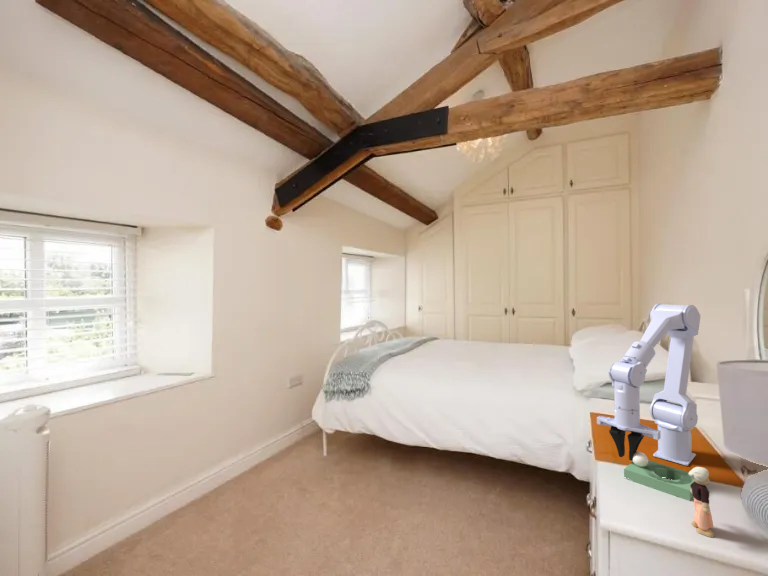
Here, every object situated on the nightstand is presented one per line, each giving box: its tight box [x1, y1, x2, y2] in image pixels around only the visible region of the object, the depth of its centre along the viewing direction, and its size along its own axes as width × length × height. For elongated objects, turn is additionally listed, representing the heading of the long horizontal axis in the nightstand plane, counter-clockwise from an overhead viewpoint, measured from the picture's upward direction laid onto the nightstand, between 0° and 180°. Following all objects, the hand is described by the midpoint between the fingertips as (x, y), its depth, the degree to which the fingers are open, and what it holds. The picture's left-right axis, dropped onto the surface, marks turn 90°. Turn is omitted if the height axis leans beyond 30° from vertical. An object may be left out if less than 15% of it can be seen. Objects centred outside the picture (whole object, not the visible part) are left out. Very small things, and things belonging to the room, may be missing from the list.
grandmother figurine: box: [688, 466, 715, 538], centre depth 77 cm, size 8×4×13 cm, turn 168°
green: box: [623, 459, 695, 502], centre depth 95 cm, size 10×14×2 cm
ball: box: [632, 451, 649, 467], centre depth 98 cm, size 4×4×4 cm
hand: (627, 457), depth 100 cm, fingers open, 2 cm apart
